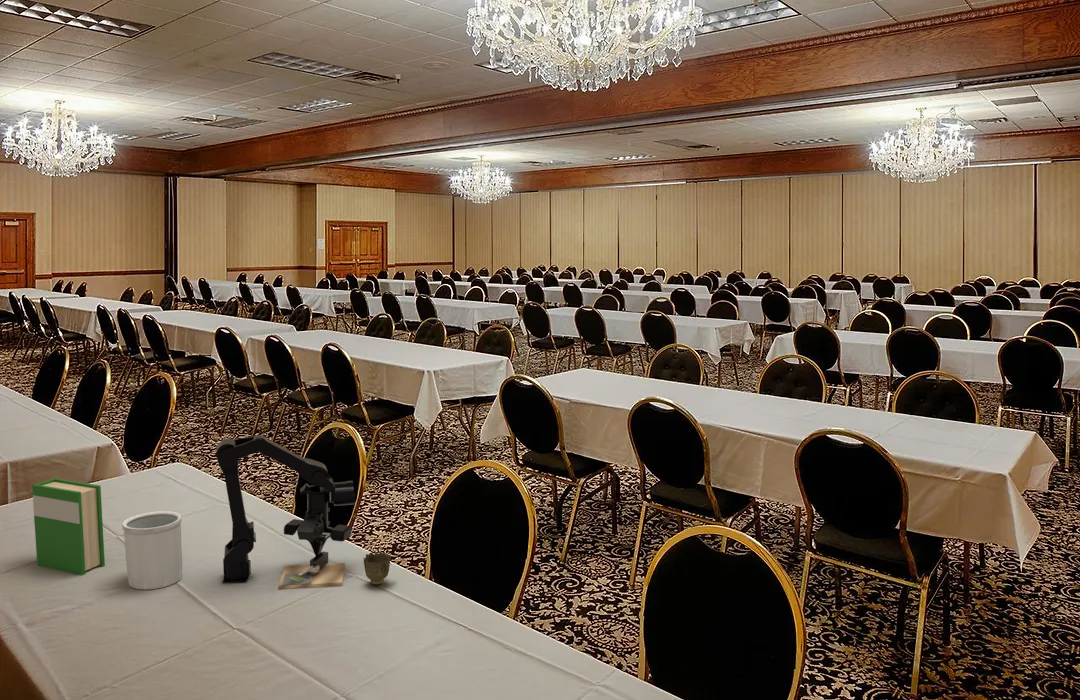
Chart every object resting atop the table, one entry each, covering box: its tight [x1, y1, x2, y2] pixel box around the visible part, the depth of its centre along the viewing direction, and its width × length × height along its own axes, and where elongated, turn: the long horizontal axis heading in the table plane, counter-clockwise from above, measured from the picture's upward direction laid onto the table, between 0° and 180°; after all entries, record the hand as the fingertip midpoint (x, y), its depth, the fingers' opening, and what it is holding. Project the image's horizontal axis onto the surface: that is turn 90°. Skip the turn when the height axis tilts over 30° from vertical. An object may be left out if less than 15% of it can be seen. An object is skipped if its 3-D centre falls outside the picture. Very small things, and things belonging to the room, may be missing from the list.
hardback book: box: [31, 477, 106, 576], centre depth 238 cm, size 18×7×24 cm, turn 70°
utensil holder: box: [121, 510, 183, 590], centre depth 229 cm, size 15×15×18 cm
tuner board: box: [277, 562, 346, 590], centre depth 234 cm, size 17×14×1 cm
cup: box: [362, 551, 392, 587], centre depth 230 cm, size 8×7×8 cm
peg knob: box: [298, 551, 329, 575], centre depth 234 cm, size 14×4×3 cm, turn 164°
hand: (317, 558), depth 240 cm, fingers closed
